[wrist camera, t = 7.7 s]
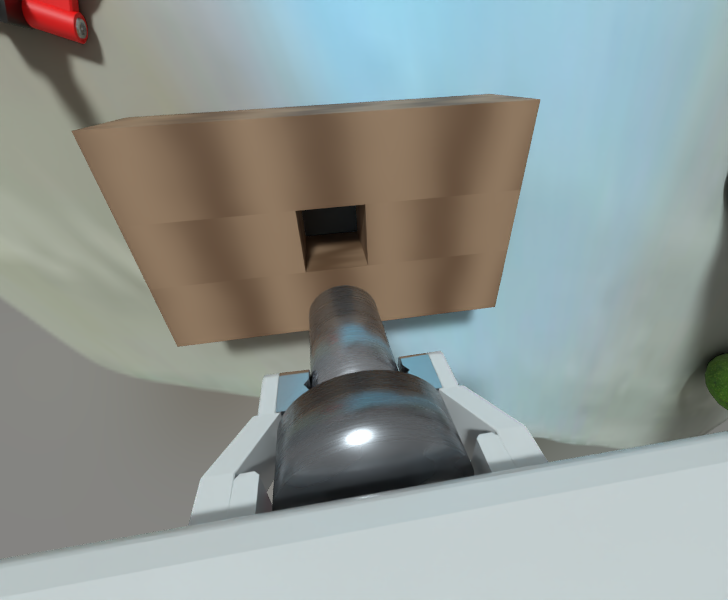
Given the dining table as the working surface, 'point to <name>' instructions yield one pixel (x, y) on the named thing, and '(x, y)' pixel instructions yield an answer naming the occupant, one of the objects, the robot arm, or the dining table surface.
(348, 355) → the steel pin
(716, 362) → the avocado
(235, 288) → the hitch block
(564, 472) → the robot arm
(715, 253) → the dining table surface
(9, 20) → the tow hook
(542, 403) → the dining table surface
